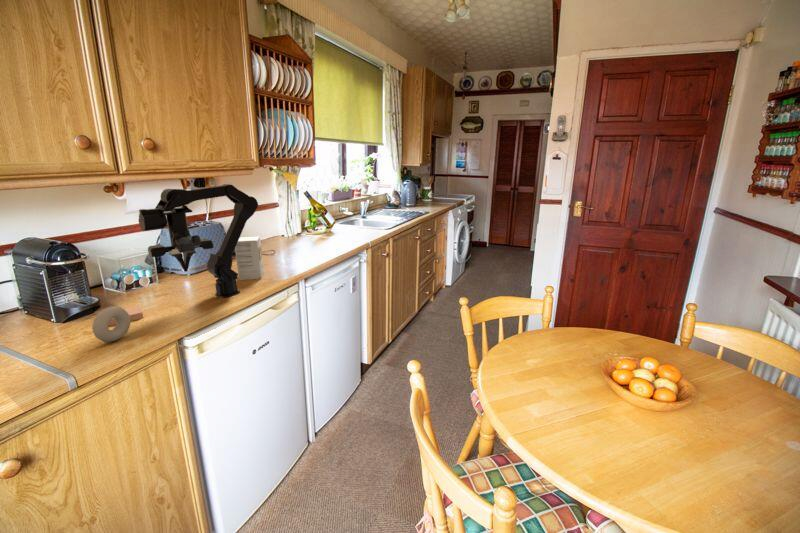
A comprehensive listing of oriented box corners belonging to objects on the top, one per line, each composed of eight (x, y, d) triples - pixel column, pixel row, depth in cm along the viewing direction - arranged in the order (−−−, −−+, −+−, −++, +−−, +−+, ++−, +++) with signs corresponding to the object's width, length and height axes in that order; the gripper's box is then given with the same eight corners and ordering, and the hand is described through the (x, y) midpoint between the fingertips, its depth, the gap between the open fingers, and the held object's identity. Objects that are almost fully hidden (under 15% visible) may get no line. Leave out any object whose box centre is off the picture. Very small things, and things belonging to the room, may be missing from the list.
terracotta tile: (138, 305, 127) (104, 312, 121) (142, 312, 121) (107, 320, 115) (139, 311, 127) (106, 319, 122) (143, 319, 122) (109, 327, 116)
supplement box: (261, 278, 160) (257, 240, 155) (238, 280, 158) (233, 241, 154) (264, 272, 169) (260, 236, 164) (242, 274, 167) (237, 237, 163)
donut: (103, 349, 101) (95, 315, 99) (93, 347, 102) (84, 314, 100) (136, 333, 111) (129, 301, 108) (127, 332, 112) (120, 300, 109)
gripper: (150, 234, 114) (160, 282, 118) (215, 226, 126) (221, 270, 130) (143, 229, 122) (152, 275, 126) (205, 222, 134) (211, 264, 138)
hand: (185, 271), depth 130 cm, fingers closed
